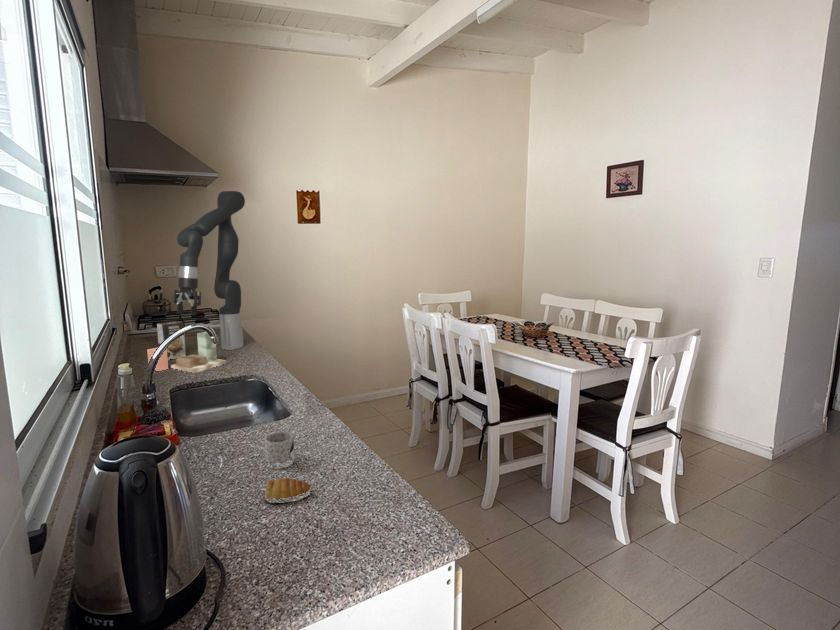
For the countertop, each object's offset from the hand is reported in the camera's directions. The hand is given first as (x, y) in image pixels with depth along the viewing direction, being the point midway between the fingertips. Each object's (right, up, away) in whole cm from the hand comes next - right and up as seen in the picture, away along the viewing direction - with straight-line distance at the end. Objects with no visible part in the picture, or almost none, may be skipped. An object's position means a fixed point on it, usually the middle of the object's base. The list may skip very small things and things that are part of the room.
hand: (186, 314), depth 208 cm
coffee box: (-9, -20, +7) cm, 23 cm away
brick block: (-5, -23, -13) cm, 27 cm away
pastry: (+73, -39, -106) cm, 135 cm away
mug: (+67, -36, -90) cm, 118 cm away
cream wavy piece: (+8, -22, -6) cm, 24 cm away
